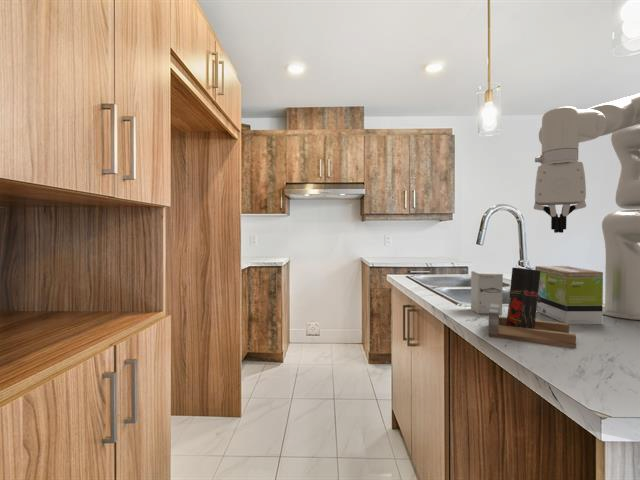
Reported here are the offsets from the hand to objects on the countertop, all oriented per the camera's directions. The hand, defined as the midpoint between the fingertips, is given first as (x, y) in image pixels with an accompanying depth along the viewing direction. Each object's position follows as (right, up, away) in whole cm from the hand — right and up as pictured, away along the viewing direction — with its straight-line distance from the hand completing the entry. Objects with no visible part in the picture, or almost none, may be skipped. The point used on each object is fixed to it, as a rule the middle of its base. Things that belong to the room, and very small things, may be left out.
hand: (558, 232), depth 84 cm
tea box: (+12, -25, +14) cm, 31 cm away
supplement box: (-7, -25, +22) cm, 34 cm away
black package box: (-11, -24, -1) cm, 27 cm away
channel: (-9, -25, -2) cm, 27 cm away
